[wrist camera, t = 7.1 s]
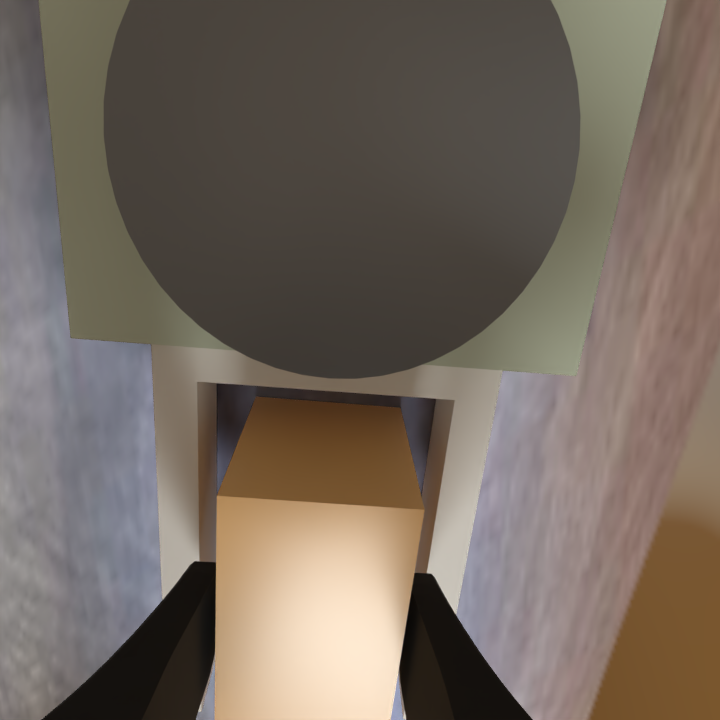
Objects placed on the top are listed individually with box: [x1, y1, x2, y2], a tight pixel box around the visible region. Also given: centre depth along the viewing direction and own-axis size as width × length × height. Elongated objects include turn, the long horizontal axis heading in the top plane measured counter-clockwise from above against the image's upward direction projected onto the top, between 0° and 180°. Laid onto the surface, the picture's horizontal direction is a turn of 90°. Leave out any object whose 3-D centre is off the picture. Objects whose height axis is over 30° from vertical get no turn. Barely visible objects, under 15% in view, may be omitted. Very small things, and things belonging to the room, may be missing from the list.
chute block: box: [215, 396, 425, 720], centre depth 14 cm, size 8×4×5 cm, turn 174°
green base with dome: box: [39, 0, 667, 719], centre depth 12 cm, size 20×11×5 cm, turn 175°
